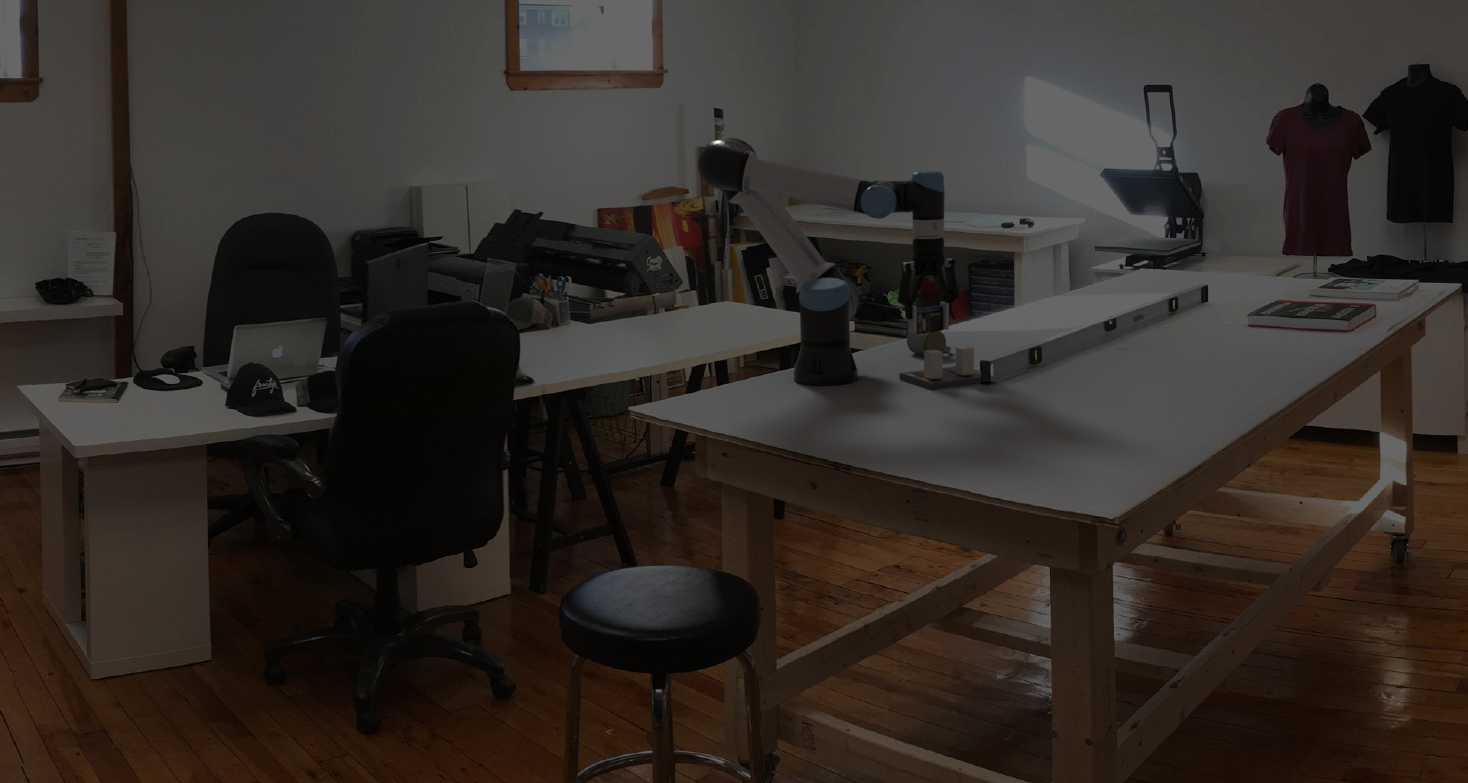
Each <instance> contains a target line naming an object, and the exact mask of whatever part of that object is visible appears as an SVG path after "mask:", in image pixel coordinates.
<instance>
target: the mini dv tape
mask: <svg viewBox="0 0 1468 783" xmlns="http://www.w3.org/2000/svg"><path fill="white" fill-rule="evenodd" d="M936 331H940V332H942V331H944V329H943V306H940V304H939V305H938V304H937V305H932V306H925V307H918V308H917V333H914V334H923V333H929V332H936Z"/></svg>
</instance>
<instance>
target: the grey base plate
mask: <svg viewBox="0 0 1468 783" xmlns="http://www.w3.org/2000/svg"><path fill="white" fill-rule="evenodd" d="M981 372H982V371H981V370H977V369H974V374H969V375H960V374H957V373H956V365H954V366H947V367H942V378H936V379H929V378H926V377H924V369H921V370H913V371H906V372H905V371H904V372H899V380H900V381H903V382H906V383H910V384H913V385H916V386H918V387H922V388H924V389H928V390H930V391H934V390H941V389H948V388H949V389H950V388H951V389H952V388H957V387H965V386H973V385H980V384H981ZM981 385H982V384H981Z"/></svg>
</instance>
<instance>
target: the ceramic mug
mask: <svg viewBox="0 0 1468 783" xmlns="http://www.w3.org/2000/svg"><path fill="white" fill-rule="evenodd" d="M946 344H947V340H946V336H945V335H944V333H943V332H942V331H936V332H929V333H923V334H914V333H911V332H908V333H907V336H906V345H907V348H908V349H909V350H910V352H912V353H914V354H918V355H921V356H924V351H928V350H939V351H942V353H947V354H950V353H951V350H952V347H951V346H949V345H946Z"/></svg>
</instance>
